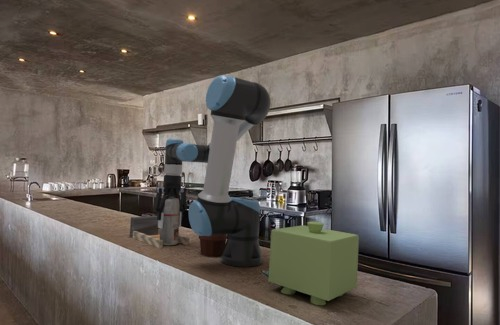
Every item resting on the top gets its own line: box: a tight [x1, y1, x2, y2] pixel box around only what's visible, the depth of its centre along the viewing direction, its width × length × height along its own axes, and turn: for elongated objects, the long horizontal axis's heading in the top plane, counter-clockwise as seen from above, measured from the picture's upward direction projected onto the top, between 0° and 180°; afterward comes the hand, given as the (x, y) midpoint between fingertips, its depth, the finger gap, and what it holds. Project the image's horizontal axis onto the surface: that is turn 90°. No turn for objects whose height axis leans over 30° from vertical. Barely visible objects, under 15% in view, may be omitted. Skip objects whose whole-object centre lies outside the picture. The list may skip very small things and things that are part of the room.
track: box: [129, 215, 190, 249], centre depth 154 cm, size 27×14×9 cm, turn 44°
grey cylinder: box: [160, 197, 180, 246], centre depth 148 cm, size 8×8×20 cm
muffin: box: [198, 234, 227, 257], centre depth 135 cm, size 12×11×10 cm
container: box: [268, 220, 360, 306], centre depth 97 cm, size 19×16×20 cm
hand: (169, 227), depth 148 cm, fingers closed on grey cylinder, 8 cm apart
